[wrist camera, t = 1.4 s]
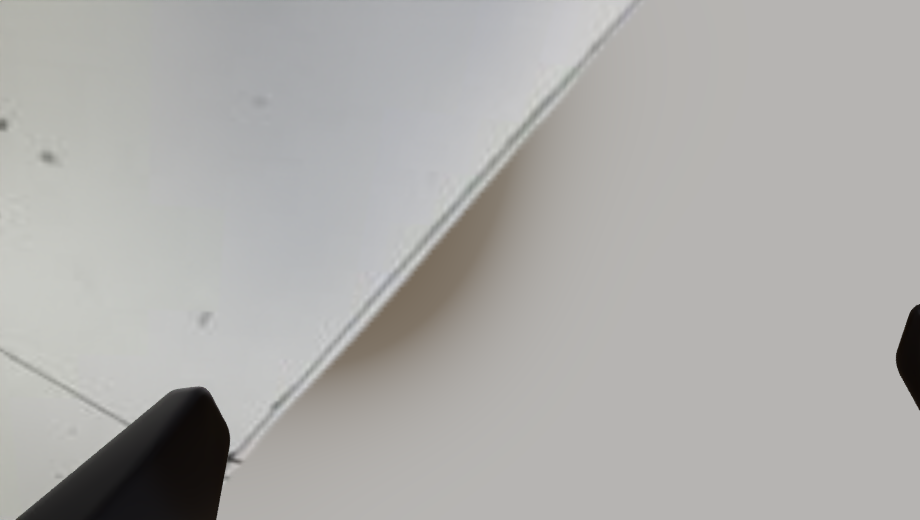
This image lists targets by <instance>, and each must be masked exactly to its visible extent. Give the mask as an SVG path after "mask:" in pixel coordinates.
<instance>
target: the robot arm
mask: <svg viewBox="0 0 920 520" xmlns="http://www.w3.org/2000/svg"><path fill="white" fill-rule="evenodd" d="M896 364H897V368H898V371H899V374H900V376H901V378H902V379H903V381H904V383H905V385H906V387H907V388H908V390H909V392H910V394H911V396H912V397H913V399H914V401H915V403H916V405H917V406H918V408H919V410H920V304H919V305H916V306H915V307H914V308H913V309H912V310H911V312H910V314H909V317H908V319H907V322H906V325H905V329H904V332H903V334H902V338H901V341H900V343H899V347H898V349H897V353H896ZM229 446H230V434H229V429H228V426H227V424H226V422H225V420H224V418H223V417H222V415H221V413H220V411H219V409H218V407H217V405H216V403H215V401H214V399H213V397H212V395H211V394H210V392H209V391H208V390H207V389H206V388H204V387H190V388H182V389H176V390H173V391H171V392H169V393H168V394H167V395H166V396H164V397H163V398H162V399H161V400H160V401H158V402H157V403H156V404H155V405H153V406H152V407H151V408H150V409H149V410H147V411H146V412H145V413H144V414H143V415H141V416H140V417H139V418H138V419H137V420H135V421H134V422H133V423H132V424H131V425H129V426H128V427H127V428H126V429H124V430H123V431H122V432H121V433H120V434H118V435H117V436H116V437H115V438H114V439H112V440H111V441H110V442H109V443H108V444H106V445H105V446H104V447H103V448H102V449H100V450H99V451H98V452H97V453H96V454H94V455H93V456H92V457H91V458H89V459H88V460H87V461H86V462H85V463H83V464H82V465H81V466H80V467H79V468H77V469H76V470H75V471H74V472H73V473H71V474H70V475H69V476H68V477H66V478H65V479H64V480H63V481H62V482H60V483H59V484H58V485H57V486H56V487H54V488H53V489H52V490H51V491H50V492H48V493H47V494H46V495H45V496H44V497H42V498H41V499H40V500H39V501H37V502H36V503H35V504H34V505H33V506H31V507H30V508H29V509H28V510H27V511H25V512H24V513H23V514H22V515H21V516H19V517H18V518H17V519H16V520H216V518H217V511H218V507H219V501H220V496H221V490H222V485H223V479H224V474H225V468H226V463H227V457H228V452H229Z"/></svg>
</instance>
